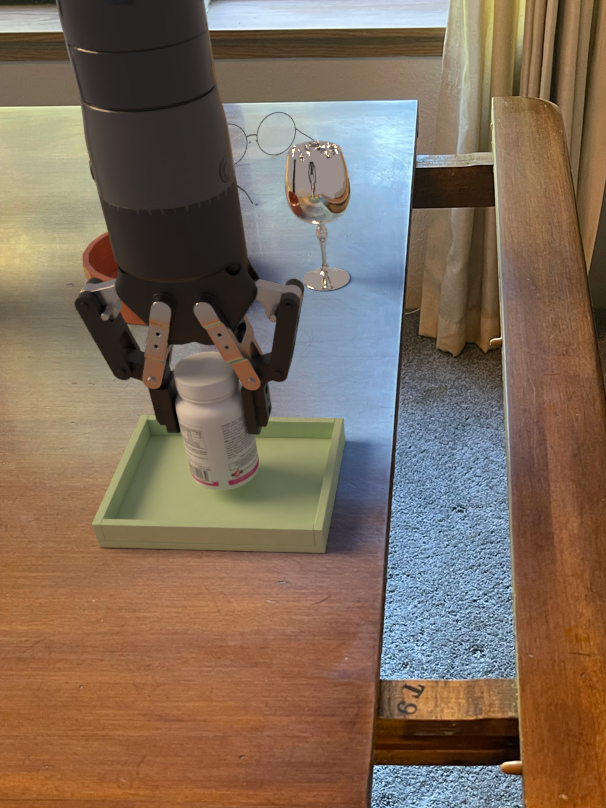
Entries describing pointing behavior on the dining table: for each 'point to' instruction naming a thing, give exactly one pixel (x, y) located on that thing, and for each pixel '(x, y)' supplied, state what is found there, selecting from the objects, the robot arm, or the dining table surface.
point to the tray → (225, 493)
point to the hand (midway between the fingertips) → (216, 425)
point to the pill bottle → (214, 422)
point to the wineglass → (318, 200)
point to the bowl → (105, 269)
